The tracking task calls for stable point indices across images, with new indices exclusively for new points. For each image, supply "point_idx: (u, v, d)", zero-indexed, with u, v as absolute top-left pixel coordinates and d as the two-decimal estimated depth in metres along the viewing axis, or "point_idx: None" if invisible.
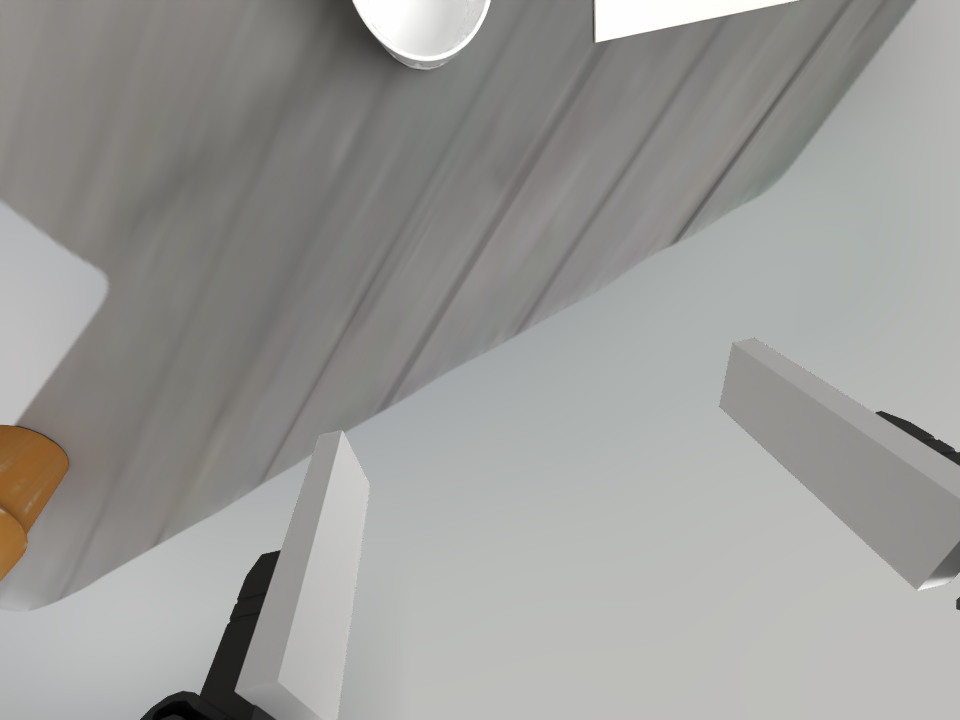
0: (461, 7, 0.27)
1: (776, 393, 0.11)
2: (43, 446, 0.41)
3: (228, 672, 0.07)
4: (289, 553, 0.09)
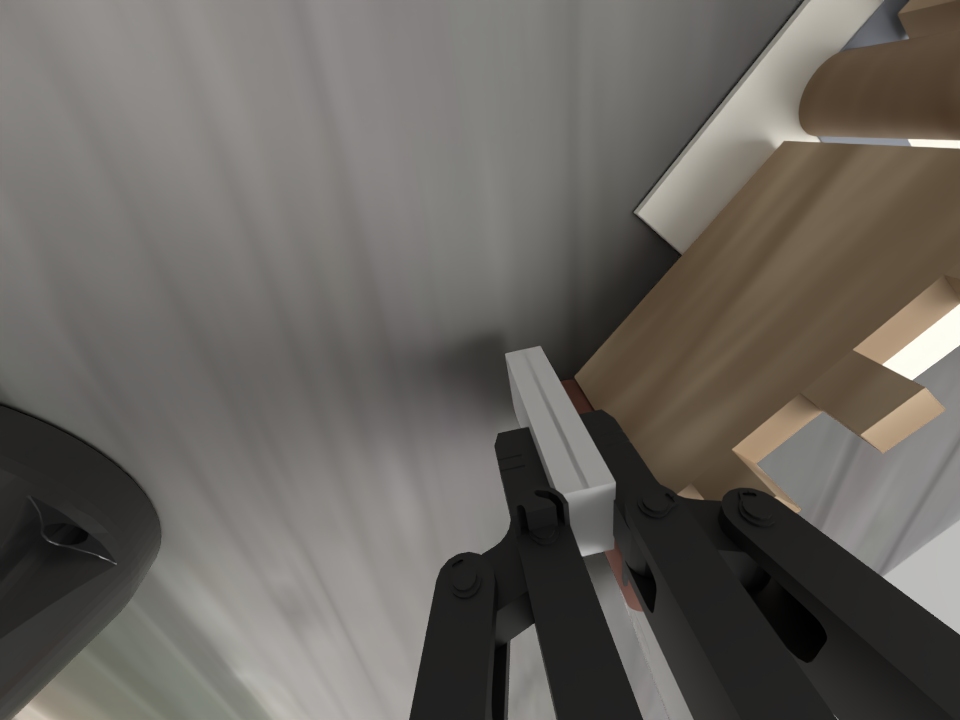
0: None
1: None
2: None
3: None
4: (539, 422, 0.11)
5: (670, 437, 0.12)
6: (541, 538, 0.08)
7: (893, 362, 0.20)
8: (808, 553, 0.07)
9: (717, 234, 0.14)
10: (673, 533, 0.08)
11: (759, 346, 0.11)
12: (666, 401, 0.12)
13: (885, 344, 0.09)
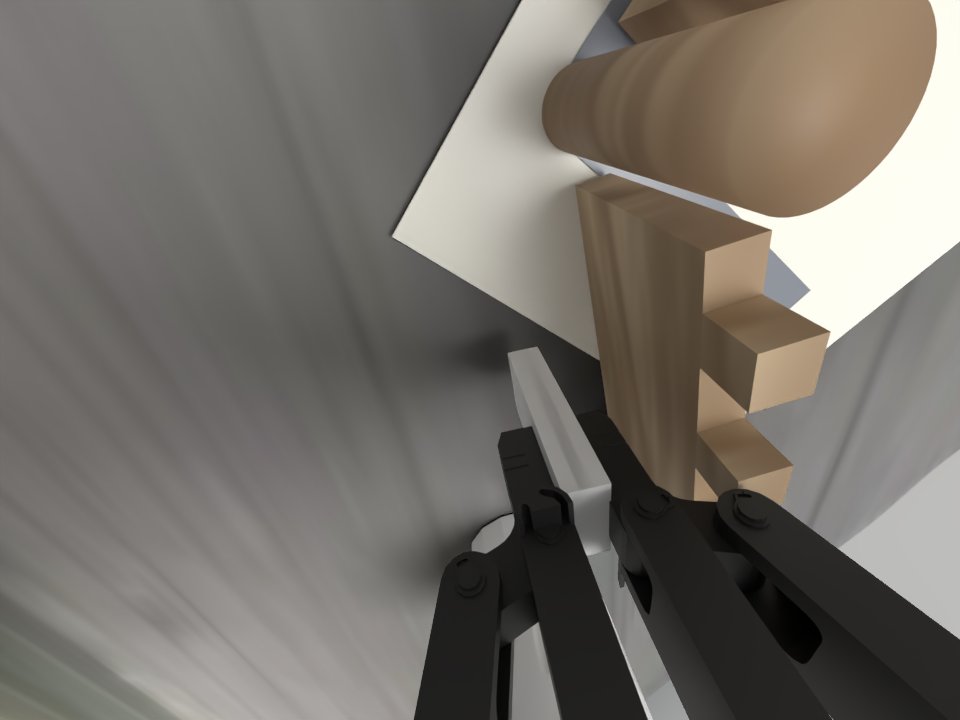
0: None
1: None
2: None
3: None
4: (543, 422, 0.11)
5: (667, 490, 0.13)
6: (545, 537, 0.08)
7: None
8: (803, 554, 0.07)
9: (595, 286, 0.14)
10: (669, 534, 0.08)
11: (661, 414, 0.12)
12: (651, 455, 0.14)
13: (724, 410, 0.09)
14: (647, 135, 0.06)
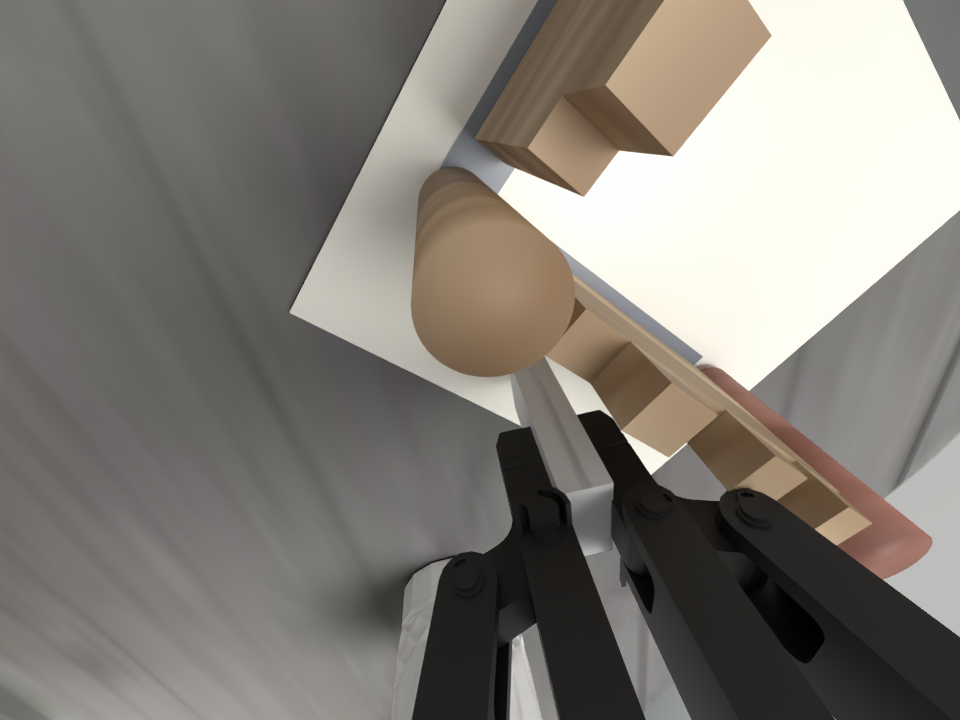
0: None
1: None
2: None
3: None
4: (541, 422, 0.11)
5: None
6: (543, 537, 0.08)
7: None
8: (806, 554, 0.07)
9: None
10: (671, 533, 0.08)
11: None
12: None
13: None
14: None
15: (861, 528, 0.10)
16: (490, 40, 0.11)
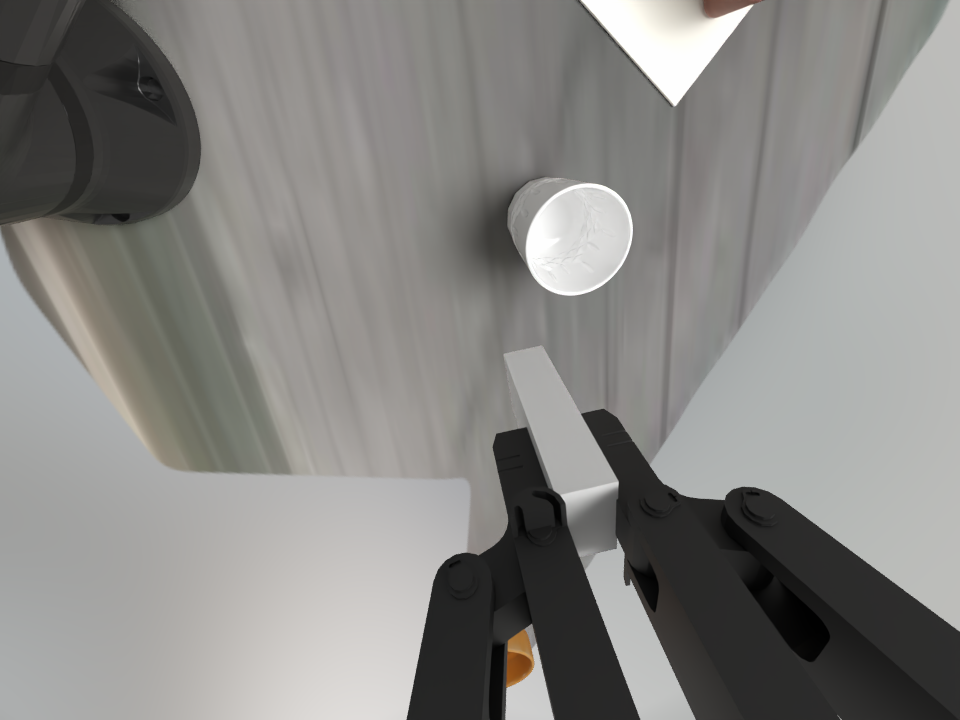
0: (574, 196, 0.33)
1: None
2: None
3: None
4: (537, 423, 0.11)
5: None
6: (538, 539, 0.08)
7: (681, 51, 0.30)
8: (811, 552, 0.07)
9: None
10: (676, 532, 0.08)
11: None
12: None
13: None
14: None
15: None
16: None
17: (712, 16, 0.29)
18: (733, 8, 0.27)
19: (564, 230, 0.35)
